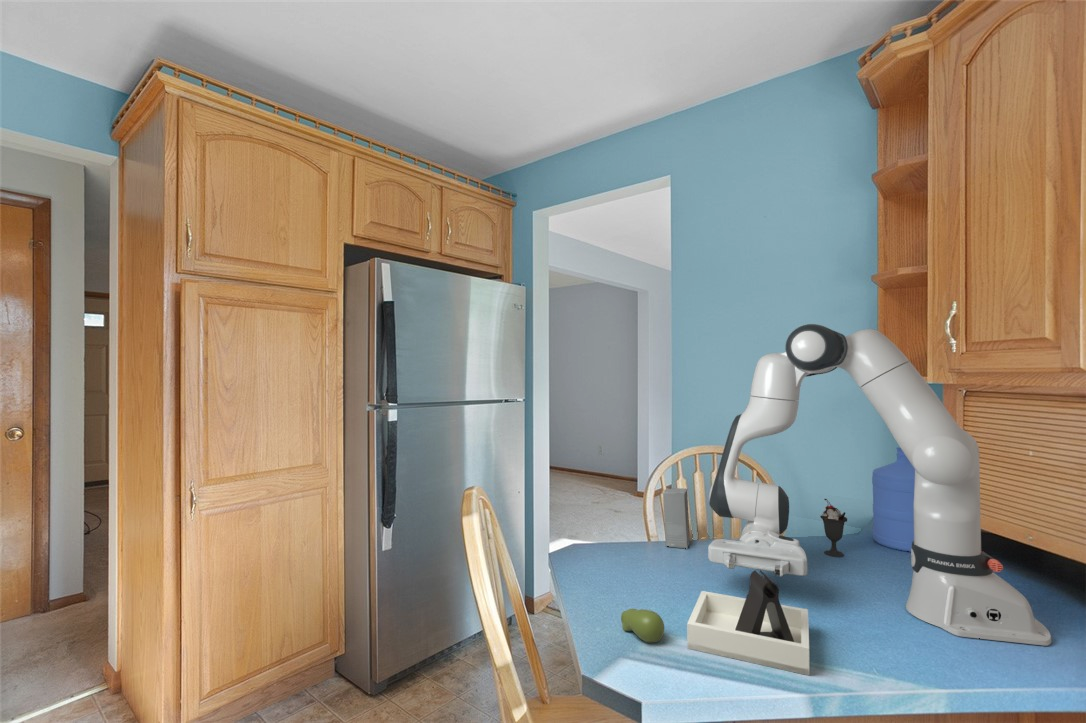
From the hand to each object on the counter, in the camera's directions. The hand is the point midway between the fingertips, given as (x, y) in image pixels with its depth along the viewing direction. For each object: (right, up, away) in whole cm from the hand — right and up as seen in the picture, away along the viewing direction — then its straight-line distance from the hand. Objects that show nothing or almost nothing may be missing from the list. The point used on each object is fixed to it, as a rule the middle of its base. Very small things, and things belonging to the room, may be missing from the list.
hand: (753, 568), depth 110 cm
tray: (-5, -9, -11) cm, 15 cm away
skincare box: (-5, -11, +45) cm, 46 cm away
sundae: (+36, -10, +36) cm, 52 cm away
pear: (-25, -10, -8) cm, 28 cm away
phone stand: (-3, -9, -13) cm, 16 cm away
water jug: (+61, -10, +44) cm, 76 cm away
